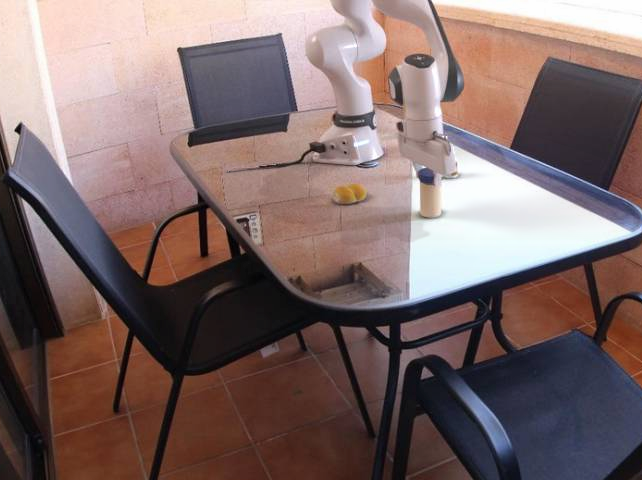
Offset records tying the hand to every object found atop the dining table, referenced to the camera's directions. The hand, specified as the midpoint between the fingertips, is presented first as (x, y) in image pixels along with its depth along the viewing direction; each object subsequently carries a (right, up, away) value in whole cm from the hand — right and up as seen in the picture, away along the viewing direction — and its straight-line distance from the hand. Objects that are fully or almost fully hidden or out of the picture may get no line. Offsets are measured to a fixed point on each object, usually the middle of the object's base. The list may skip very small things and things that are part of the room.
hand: (428, 182), depth 166 cm
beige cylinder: (0, -7, +5) cm, 9 cm away
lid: (0, +2, -1) cm, 2 cm away
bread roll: (-23, -2, +17) cm, 28 cm away
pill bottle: (+5, +7, +27) cm, 29 cm away
